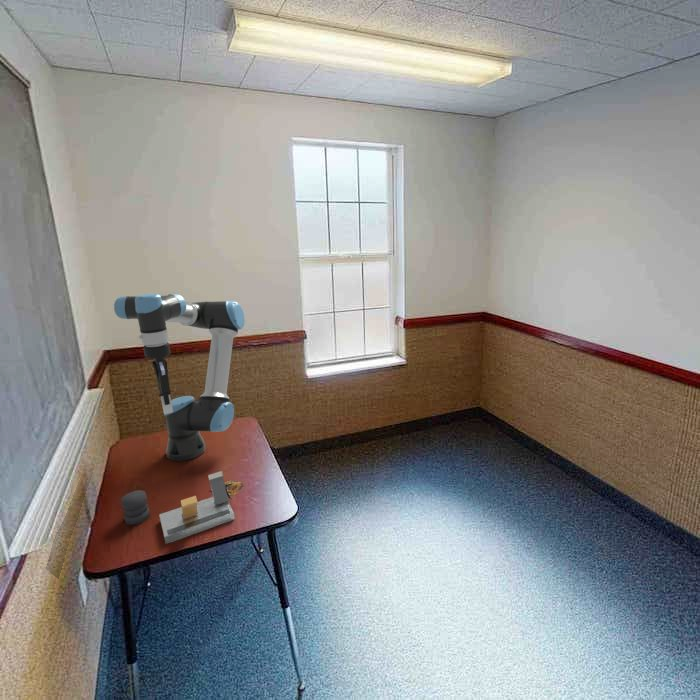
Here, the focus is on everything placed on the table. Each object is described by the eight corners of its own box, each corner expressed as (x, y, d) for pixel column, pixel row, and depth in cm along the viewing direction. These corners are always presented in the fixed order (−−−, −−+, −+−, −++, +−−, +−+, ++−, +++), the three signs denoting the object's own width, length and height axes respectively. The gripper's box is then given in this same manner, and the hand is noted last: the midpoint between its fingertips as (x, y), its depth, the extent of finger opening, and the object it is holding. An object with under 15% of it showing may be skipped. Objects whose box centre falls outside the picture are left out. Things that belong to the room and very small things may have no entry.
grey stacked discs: (124, 515, 134) (120, 495, 132) (148, 508, 137) (144, 487, 135) (126, 528, 128) (121, 506, 126) (150, 519, 132) (146, 498, 130)
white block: (214, 505, 134) (207, 475, 136) (228, 501, 136) (221, 471, 138) (215, 505, 132) (208, 475, 134) (229, 500, 134) (222, 470, 136)
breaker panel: (160, 521, 131) (159, 513, 130) (224, 499, 140) (223, 492, 140) (165, 544, 121) (164, 536, 120) (234, 519, 130) (233, 511, 130)
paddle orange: (181, 514, 128) (180, 500, 121) (196, 509, 130) (196, 495, 124) (182, 520, 127) (181, 506, 120) (197, 515, 129) (197, 501, 122)
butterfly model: (234, 500, 140) (233, 492, 140) (207, 491, 146) (205, 484, 145) (251, 486, 148) (250, 479, 147) (224, 479, 153) (223, 471, 153)
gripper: (140, 341, 135) (153, 408, 141) (145, 350, 124) (159, 422, 131) (165, 337, 138) (176, 403, 145) (172, 346, 128) (184, 416, 134)
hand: (168, 412), depth 138 cm, fingers closed
